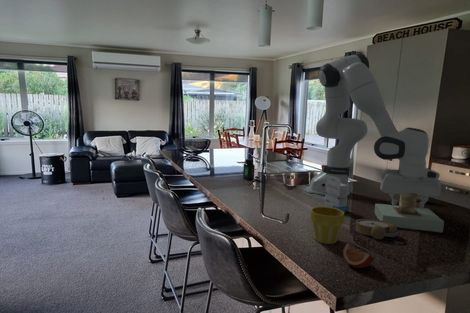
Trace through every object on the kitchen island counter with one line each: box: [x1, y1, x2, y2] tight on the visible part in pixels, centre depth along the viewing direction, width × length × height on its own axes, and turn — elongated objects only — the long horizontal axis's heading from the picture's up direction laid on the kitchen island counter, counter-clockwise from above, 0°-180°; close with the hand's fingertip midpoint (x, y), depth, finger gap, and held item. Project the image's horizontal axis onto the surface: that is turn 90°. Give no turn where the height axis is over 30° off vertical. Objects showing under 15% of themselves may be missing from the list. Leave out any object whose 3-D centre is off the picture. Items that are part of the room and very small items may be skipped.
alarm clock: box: [352, 218, 400, 240], centre depth 107 cm, size 11×5×15 cm
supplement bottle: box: [242, 158, 256, 181], centre depth 189 cm, size 7×7×12 cm
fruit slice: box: [342, 242, 375, 269], centre depth 84 cm, size 8×7×5 cm
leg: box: [398, 193, 418, 214], centre depth 120 cm, size 5×5×12 cm
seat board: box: [374, 203, 445, 233], centre depth 120 cm, size 20×16×4 cm
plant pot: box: [310, 206, 345, 245], centre depth 100 cm, size 10×10×10 cm
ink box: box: [324, 175, 349, 213], centre depth 132 cm, size 8×5×15 cm, turn 26°
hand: (407, 205), depth 120 cm, fingers open, 8 cm apart
